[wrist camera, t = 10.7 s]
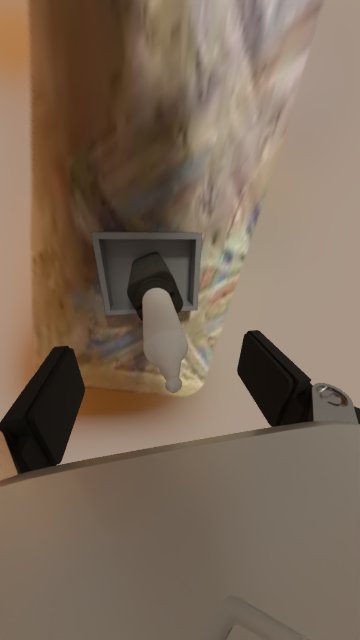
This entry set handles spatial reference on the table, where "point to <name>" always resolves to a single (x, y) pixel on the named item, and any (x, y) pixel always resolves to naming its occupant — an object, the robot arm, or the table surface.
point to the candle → (159, 315)
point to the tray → (126, 247)
